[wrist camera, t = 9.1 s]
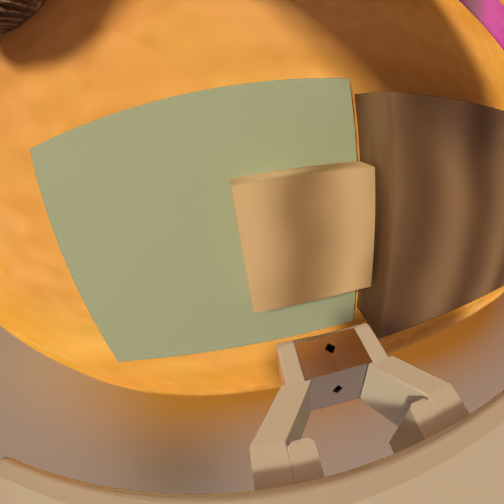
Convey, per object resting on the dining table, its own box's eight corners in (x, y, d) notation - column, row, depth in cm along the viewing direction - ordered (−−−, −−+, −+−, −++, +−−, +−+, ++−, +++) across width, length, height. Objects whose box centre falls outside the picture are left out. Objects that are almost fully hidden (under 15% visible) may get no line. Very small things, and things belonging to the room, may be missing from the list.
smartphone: (523, 85, 14) (529, 86, 14) (442, -12, 10) (448, -14, 9) (526, 42, 12) (531, 43, 11) (446, -49, 7) (451, -52, 7)
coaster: (358, 160, 16) (374, 166, 14) (358, 271, 20) (370, 286, 18) (228, 178, 16) (230, 186, 14) (250, 295, 19) (254, 313, 18)
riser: (501, 113, 15) (533, 120, 12) (485, 264, 23) (508, 282, 19) (354, 94, 14) (390, 91, 11) (357, 306, 22) (378, 338, 18)
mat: (345, 79, 14) (348, 78, 14) (350, 317, 22) (353, 320, 22) (33, 147, 13) (29, 149, 13) (119, 357, 21) (118, 361, 21)
